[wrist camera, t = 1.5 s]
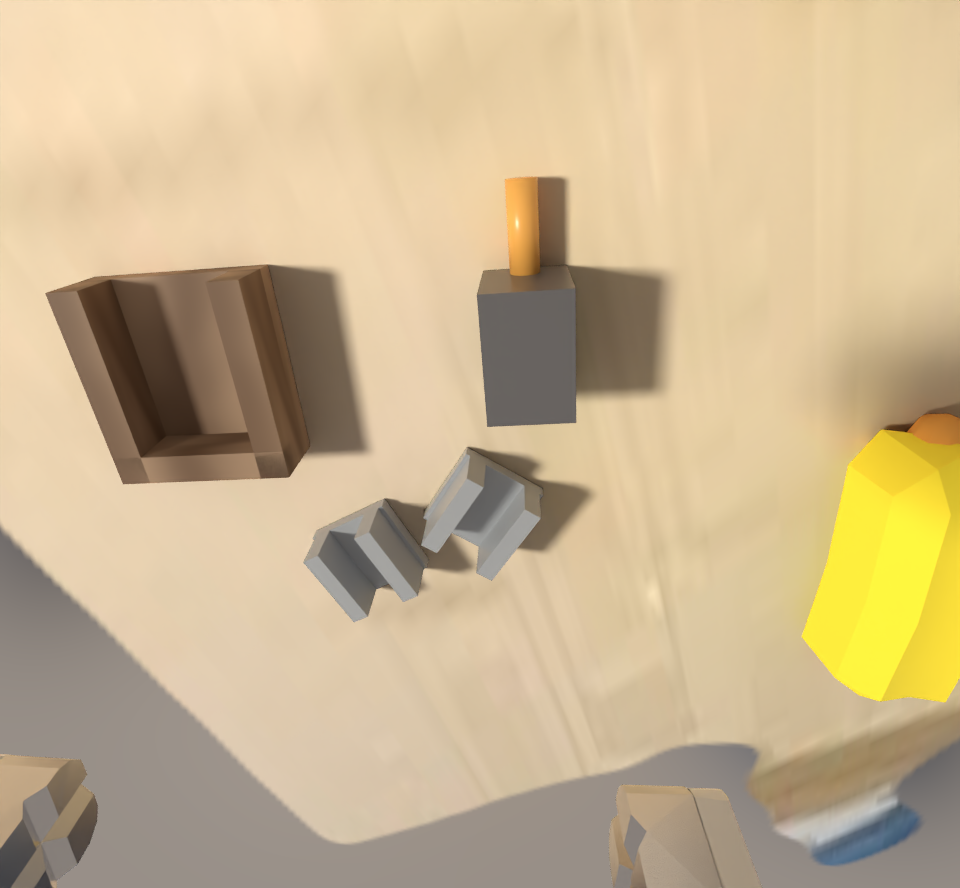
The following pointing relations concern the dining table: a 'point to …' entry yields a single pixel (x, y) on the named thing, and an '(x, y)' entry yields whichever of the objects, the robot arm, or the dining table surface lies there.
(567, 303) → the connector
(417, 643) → the dining table surface
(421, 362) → the dining table surface
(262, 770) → the dining table surface
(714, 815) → the robot arm
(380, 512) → the clip
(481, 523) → the clip
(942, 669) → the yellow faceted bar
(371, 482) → the dining table surface
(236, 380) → the holder
